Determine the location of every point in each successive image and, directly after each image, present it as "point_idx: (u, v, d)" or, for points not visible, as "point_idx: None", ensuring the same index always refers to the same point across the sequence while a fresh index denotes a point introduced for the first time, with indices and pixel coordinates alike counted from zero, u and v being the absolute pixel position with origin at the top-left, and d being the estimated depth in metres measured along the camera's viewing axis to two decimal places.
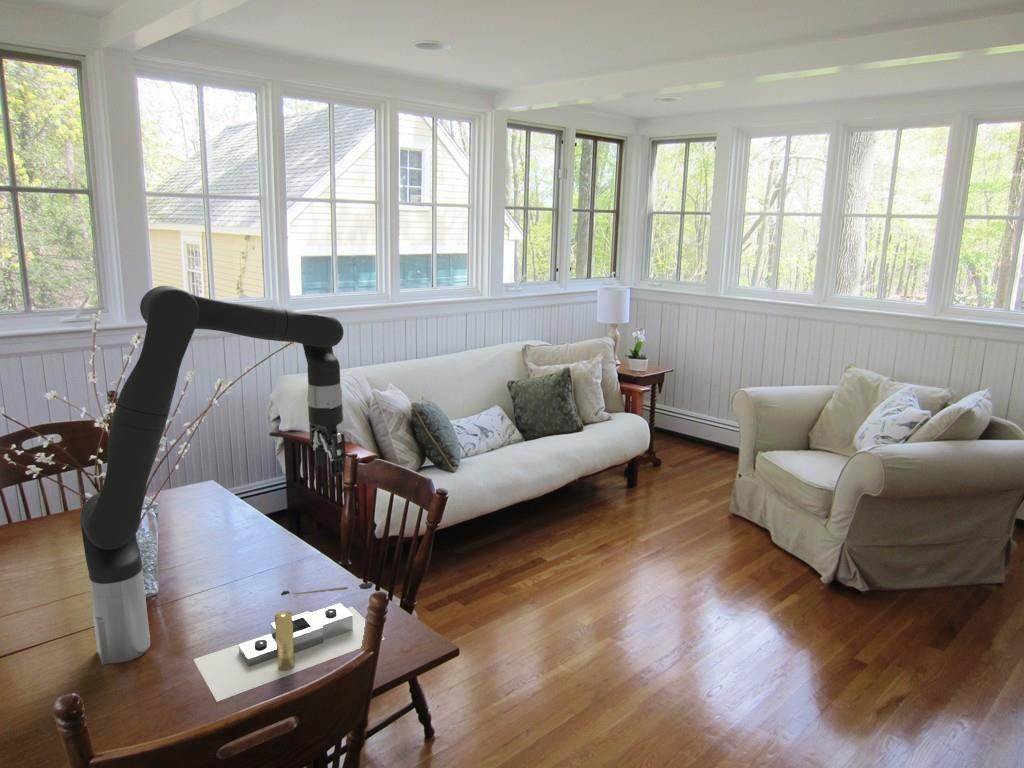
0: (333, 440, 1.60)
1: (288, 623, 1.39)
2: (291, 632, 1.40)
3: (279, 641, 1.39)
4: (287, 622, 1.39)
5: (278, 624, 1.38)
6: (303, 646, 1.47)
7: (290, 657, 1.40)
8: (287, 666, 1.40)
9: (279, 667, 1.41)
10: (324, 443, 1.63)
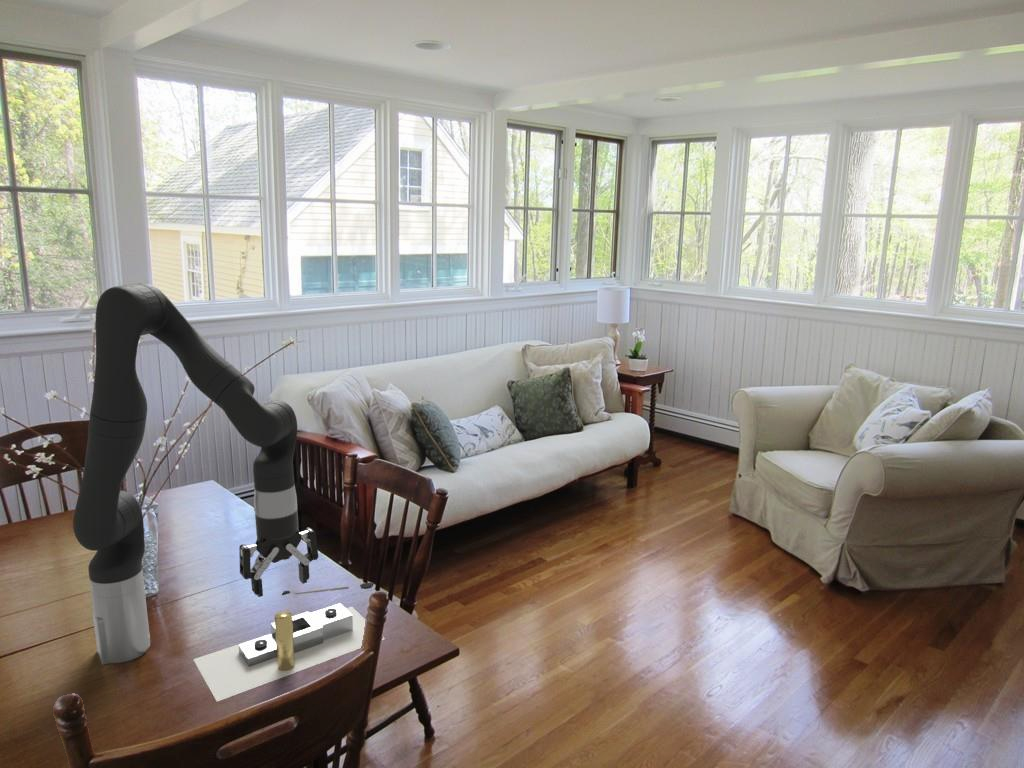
0: (314, 537, 1.39)
1: (288, 623, 1.39)
2: (291, 632, 1.40)
3: (279, 641, 1.39)
4: (287, 622, 1.39)
5: (278, 624, 1.38)
6: (303, 646, 1.47)
7: (290, 657, 1.40)
8: (287, 666, 1.40)
9: (279, 667, 1.41)
10: (295, 551, 1.37)
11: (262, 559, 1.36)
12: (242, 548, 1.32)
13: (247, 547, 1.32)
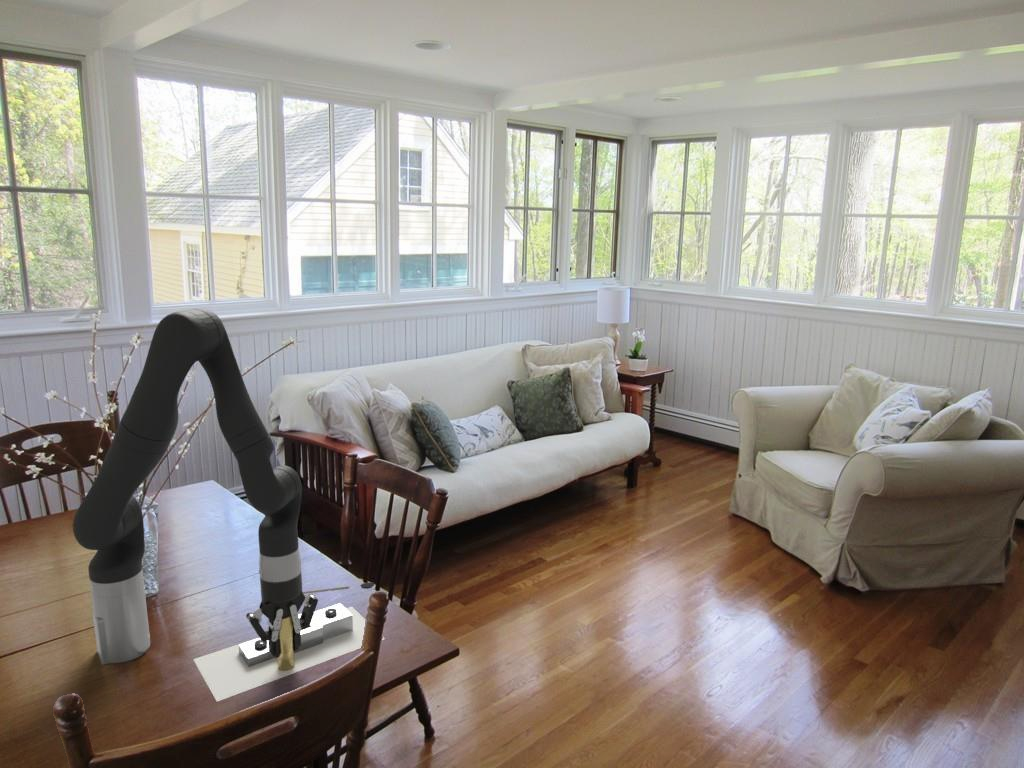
0: (315, 605, 1.42)
1: (288, 623, 1.39)
2: (291, 632, 1.40)
3: (279, 641, 1.39)
4: (287, 622, 1.39)
5: None
6: (303, 646, 1.47)
7: (290, 657, 1.40)
8: (287, 666, 1.40)
9: (279, 667, 1.41)
10: (295, 615, 1.39)
11: None
12: (248, 618, 1.35)
13: (252, 616, 1.35)
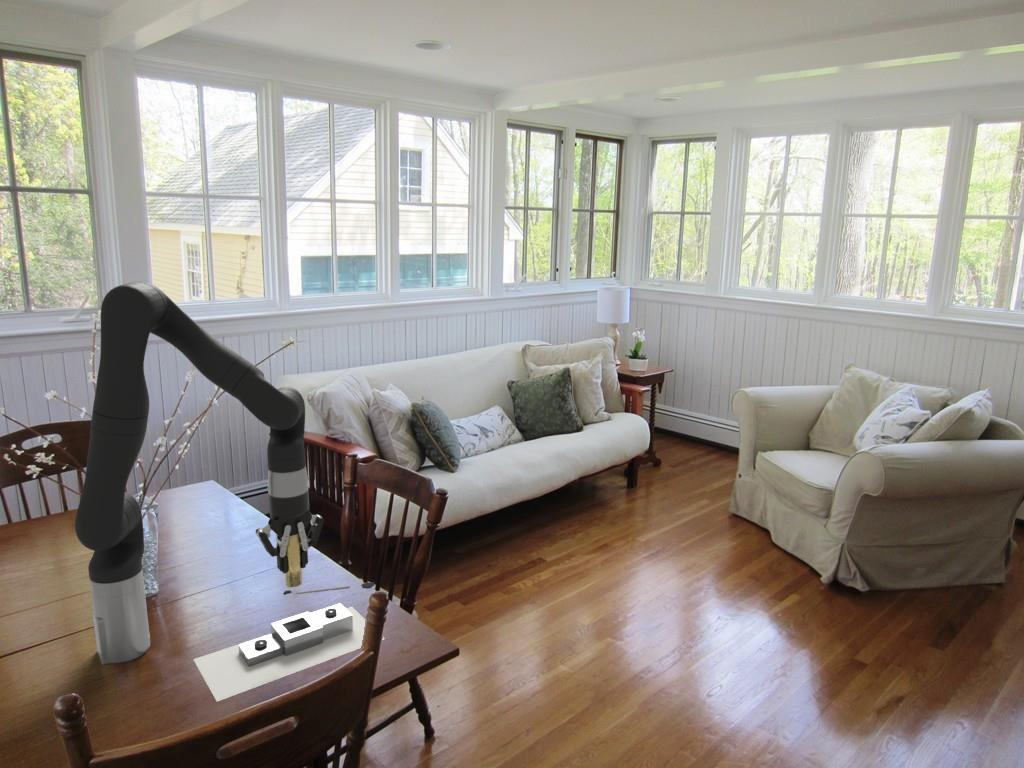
0: (321, 524, 1.47)
1: (296, 539, 1.44)
2: (298, 549, 1.45)
3: (287, 558, 1.44)
4: (295, 539, 1.44)
5: None
6: (303, 646, 1.47)
7: (297, 573, 1.46)
8: (295, 582, 1.46)
9: (287, 583, 1.46)
10: (302, 532, 1.45)
11: None
12: (257, 533, 1.41)
13: (261, 531, 1.41)
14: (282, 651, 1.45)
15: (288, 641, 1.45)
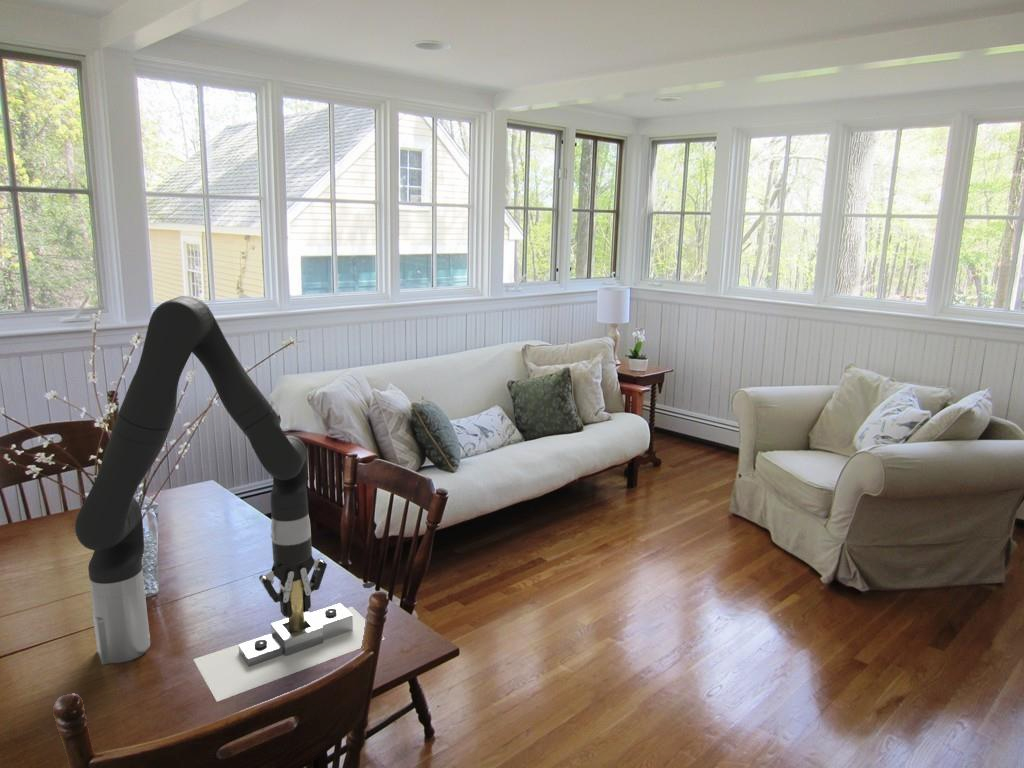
0: (324, 568, 1.50)
1: (299, 585, 1.46)
2: (301, 594, 1.48)
3: (291, 603, 1.47)
4: (298, 585, 1.46)
5: None
6: (303, 646, 1.47)
7: (300, 617, 1.48)
8: (298, 626, 1.48)
9: (290, 628, 1.48)
10: (305, 578, 1.47)
11: None
12: (261, 579, 1.43)
13: (265, 577, 1.43)
14: (282, 651, 1.45)
15: (288, 641, 1.45)
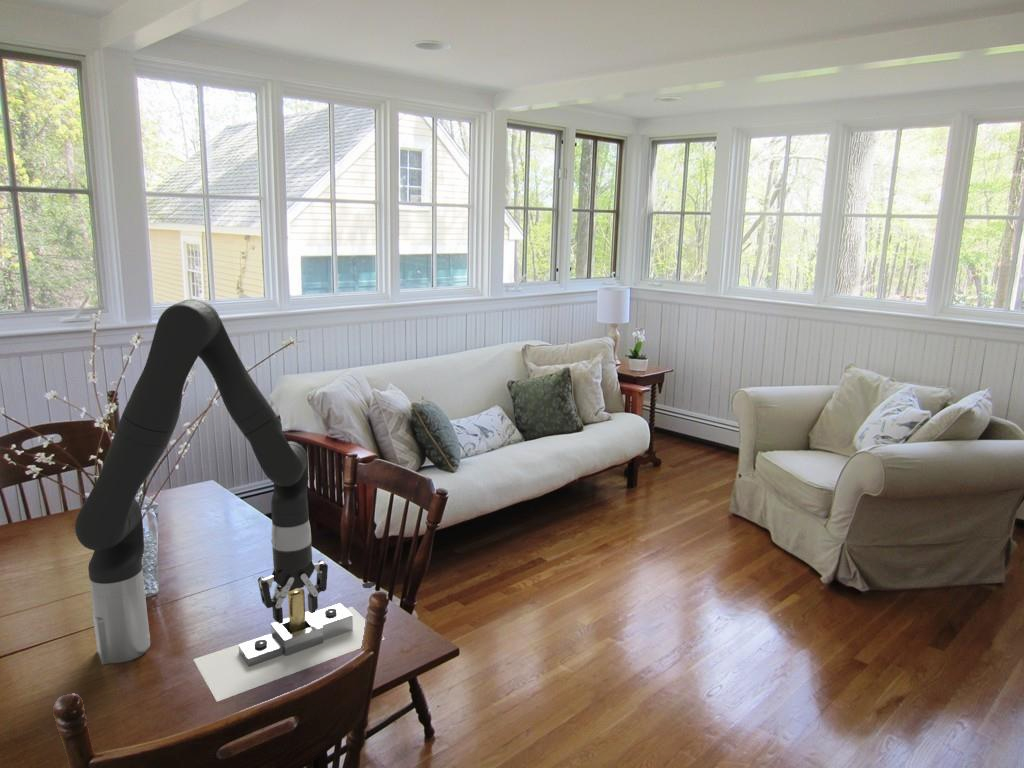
0: (326, 570, 1.50)
1: (301, 598, 1.48)
2: (303, 608, 1.49)
3: (292, 616, 1.48)
4: (300, 598, 1.47)
5: (291, 600, 1.47)
6: (303, 646, 1.47)
7: None
8: None
9: None
10: (308, 582, 1.47)
11: (280, 588, 1.47)
12: (260, 581, 1.43)
13: (265, 580, 1.43)
14: (282, 651, 1.45)
15: (288, 641, 1.45)
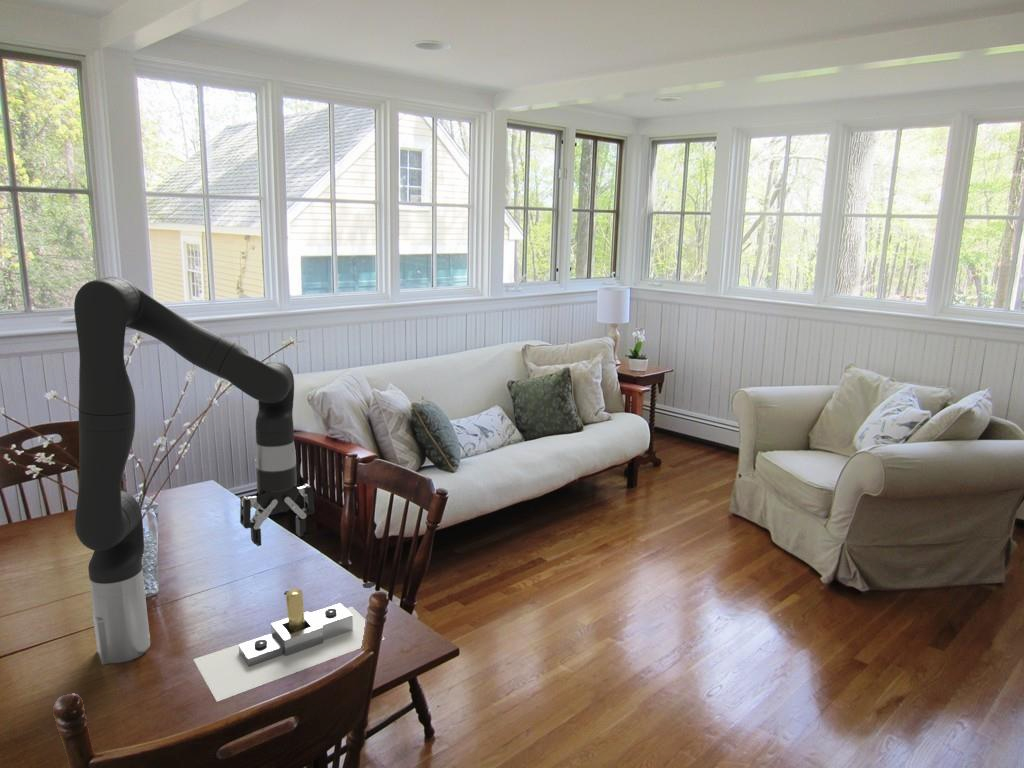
0: (311, 492, 1.47)
1: (299, 600, 1.47)
2: (302, 609, 1.48)
3: (291, 617, 1.47)
4: (298, 600, 1.47)
5: (289, 601, 1.47)
6: (303, 646, 1.47)
7: None
8: None
9: None
10: (293, 504, 1.45)
11: (261, 511, 1.44)
12: (243, 498, 1.40)
13: (248, 498, 1.40)
14: (282, 651, 1.45)
15: (288, 641, 1.45)
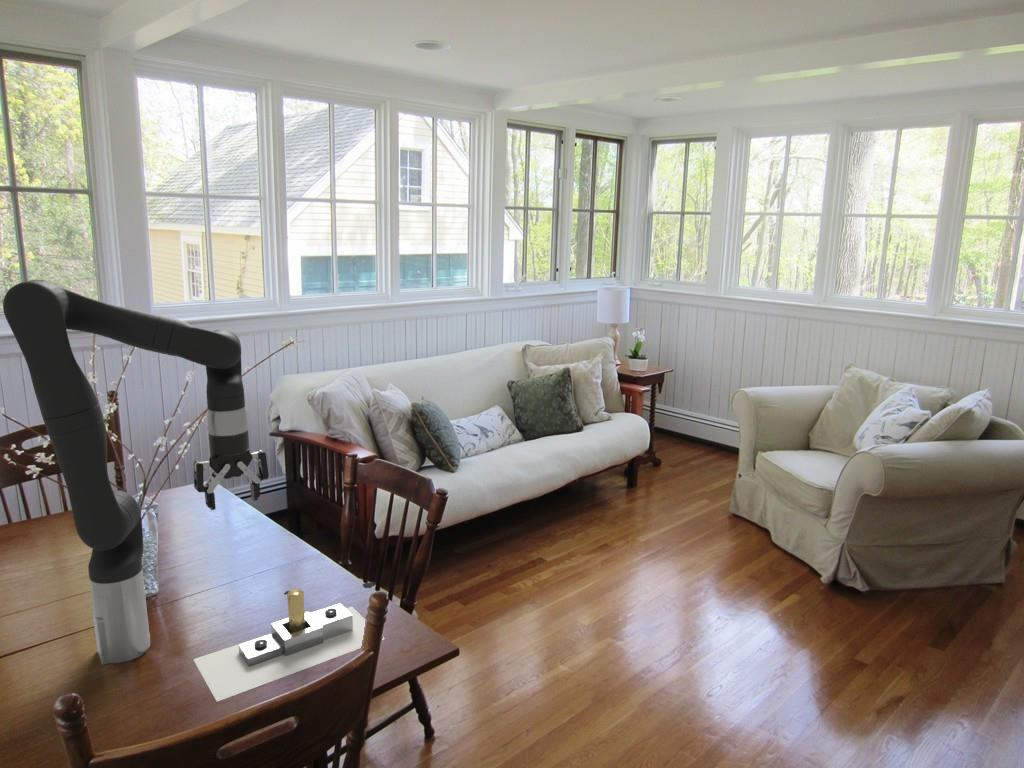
0: (264, 458, 1.51)
1: (300, 600, 1.47)
2: (302, 609, 1.48)
3: (292, 618, 1.47)
4: (299, 600, 1.47)
5: (290, 602, 1.46)
6: (303, 646, 1.47)
7: None
8: None
9: None
10: (246, 469, 1.49)
11: (215, 476, 1.48)
12: (195, 463, 1.44)
13: (200, 462, 1.44)
14: (282, 651, 1.45)
15: (288, 641, 1.45)
